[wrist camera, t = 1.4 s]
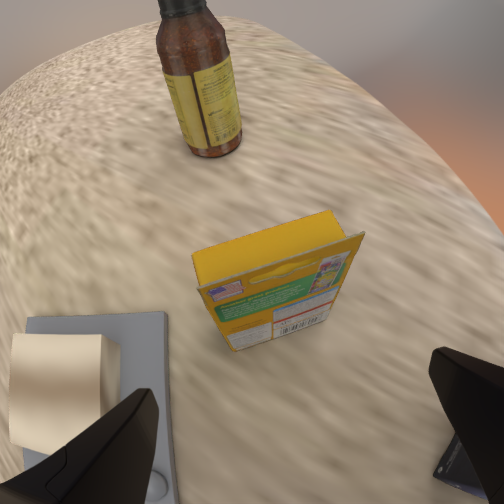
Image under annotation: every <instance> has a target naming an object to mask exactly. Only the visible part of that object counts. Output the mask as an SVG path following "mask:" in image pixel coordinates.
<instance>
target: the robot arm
mask: <svg viewBox="0 0 504 504" xmlns="http://www.w3.org/2000/svg"><path fill="white" fill-rule="evenodd" d="M429 376H430V378H431V381H432V383H433V385H434V388H435V390H436V392H437V395H438V397H439V400H440V402H441V405H442V407H443V409H444V411H445V413H446V415H447V417H448V419H449V421H450V423H451V424H452V426H453V428H454V430H455V432H456V434H457V436H458V438H459V440H460V442H461V444H462V446H463V448H464V450H465V452H466V454H467V456H468V458H469V460H470V462H471V464H472V466H473V468H474V470H475V473H476V475H477V477H478V479H479V481H480V483H481V486H482V488H483V490H484V493H485V495H486V497H487V499H488V501H489V504H504V368H503V367H500V366H497V365H495V364H492V363H489V362H486V361H483V360H481V359H478V358H475V357H472V356H470V355H467V354H464V353H461V352H459V351H456V350H453V349H450V348H448V347H440V348H436V349H434V350H433V352H432V356H431V361H430V365H429ZM158 421H159V407H158V404H157V401H156V399H155V396H154V394H153V391H152V390H151V389H150V388H138V389H136V390H135V391H134V392H132V393H131V394H130V395H129V396H127V397H126V398H125V399H124V400H122V401H121V402H120V403H119V404H117V405H116V406H115V407H113V408H112V409H111V410H110V411H108V412H107V413H106V414H105V415H103V416H102V417H101V418H99V419H98V420H97V421H95V422H94V423H93V424H92V425H90V426H89V427H88V428H86V429H85V430H84V431H82V432H81V433H80V434H79V435H77V436H76V437H75V438H73V439H72V440H71V441H69V442H68V443H67V444H66V446H63V447H61V448H60V449H59V450H57V451H56V452H54V453H53V454H52V455H50V456H49V457H47V458H46V459H44V460H43V461H41V462H39V463H38V464H36V465H35V466H33V467H31V468H29V469H28V470H26V471H24V472H22V473H21V474H19V475H17V476H15V477H14V478H12V479H10V480H8V481H6V482H4V483H1V484H0V504H145V499H146V494H147V490H148V485H149V480H150V475H151V471H152V466H153V462H154V457H155V451H156V441H157V431H158Z"/></svg>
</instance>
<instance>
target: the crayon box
mask: <svg viewBox="0 0 504 504" xmlns="http://www.w3.org/2000/svg"><path fill="white" fill-rule="evenodd" d="M365 233H366V232H365V231H363V232H361V233H359V234H354V235H352V236H349V237H346V236H345V234H344V232H343V230H342V229H341V227H340V225H339V223H338V222H337V220H336V218H335V217H334V215H333V212H332V211H331V210H327V211H324V212H321V213H317V214H314V215H311V216H307V217H304V218H301V219H298V220H294V221H291V222H288V223H284V224H281V225H278V226H275V227H272V228H268V229H265V230H262V231H259V232H255V233H252V234H249V235H246V236H243V237H240V238H237V239H234V240H231V241H227V242H224V243H221V244H218V245H215V246H212V247H209V248H206V249H203V250H200V251H197V252H194V253H192V259H193V264H194V268H195V272H196V276H197V279H198V283H199V287H197V288H196V289H197V290H198V292H199V293H200V295H201V297H202V299H203V301H204V304H205V306H206V308H207V310H208V311H209V313H210V315H211V316H212V318H213V320H214V321H215V323H216V325H217V327H218V328H219V330H220V332H221V333H222V335H223V336H224V338H225V340H226V341H227V343H228V345H229V346H230V348H231V350H232V351H234V352H236V351H238V350H241V349H244V348H247V347H251V346H253V345H256V344H259V343H262V342H265V341H268V340H271V339H274V338H277V337H280V336H283V335H286V334H289V333H292V332H294V331H297V330H300V329H302V328H305V327H308V326H310V325H313V324H315V323H318V322H321V321H323V320H325V319H326V318H327V316H328V314H329V312H330V310H331V307H332V305H333V303H334V301H335V299H336V297H337V295H338V292H339V290H340V288H341V286H342V283H343V281H344V279H345V277H346V274H347V272H348V270H349V268H350V265H351V263H352V261H353V258H354V256H355V255H356V253H357V251H358V249H359V247H360V244H361V241H362V239H363V237H364V235H365Z"/></svg>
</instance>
